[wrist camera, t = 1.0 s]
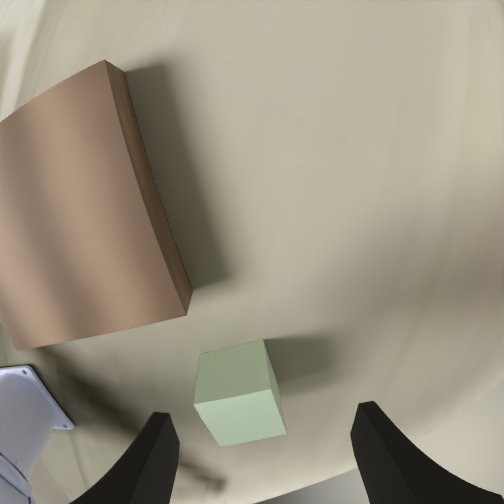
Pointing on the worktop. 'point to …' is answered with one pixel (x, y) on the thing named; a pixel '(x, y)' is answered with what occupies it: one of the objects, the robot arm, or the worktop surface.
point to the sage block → (239, 394)
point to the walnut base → (82, 218)
